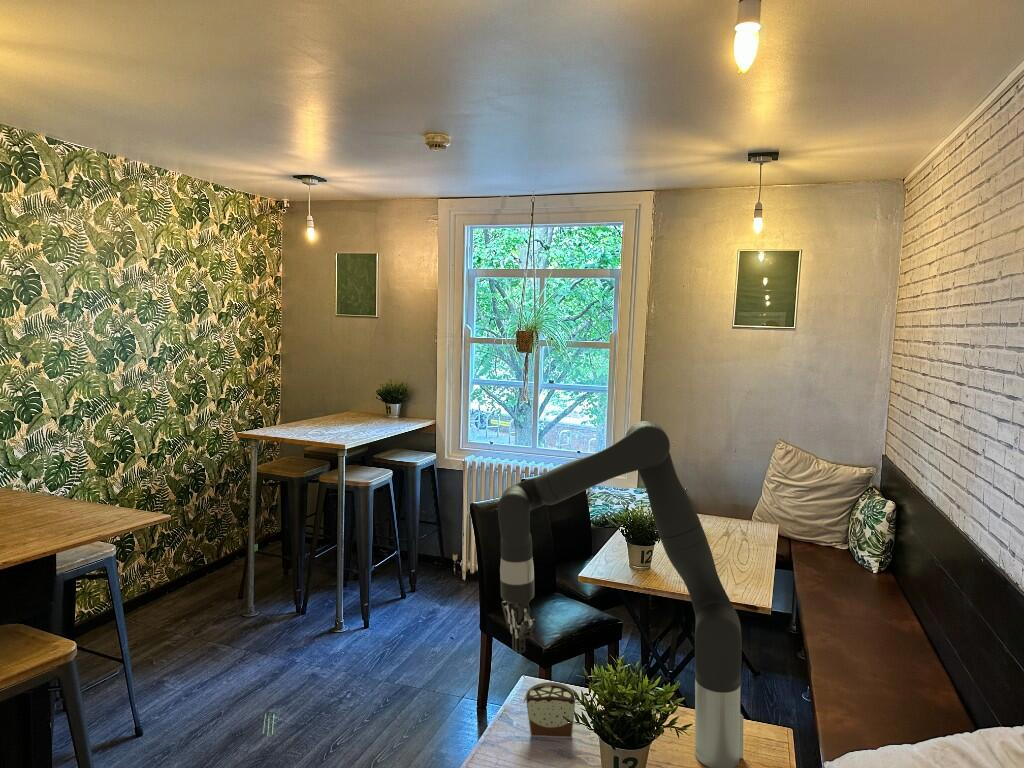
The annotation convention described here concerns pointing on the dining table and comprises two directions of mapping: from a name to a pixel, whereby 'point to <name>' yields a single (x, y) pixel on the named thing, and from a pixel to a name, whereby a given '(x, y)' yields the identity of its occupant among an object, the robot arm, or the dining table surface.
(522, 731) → the dining table surface
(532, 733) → the food container
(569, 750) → the dining table surface
